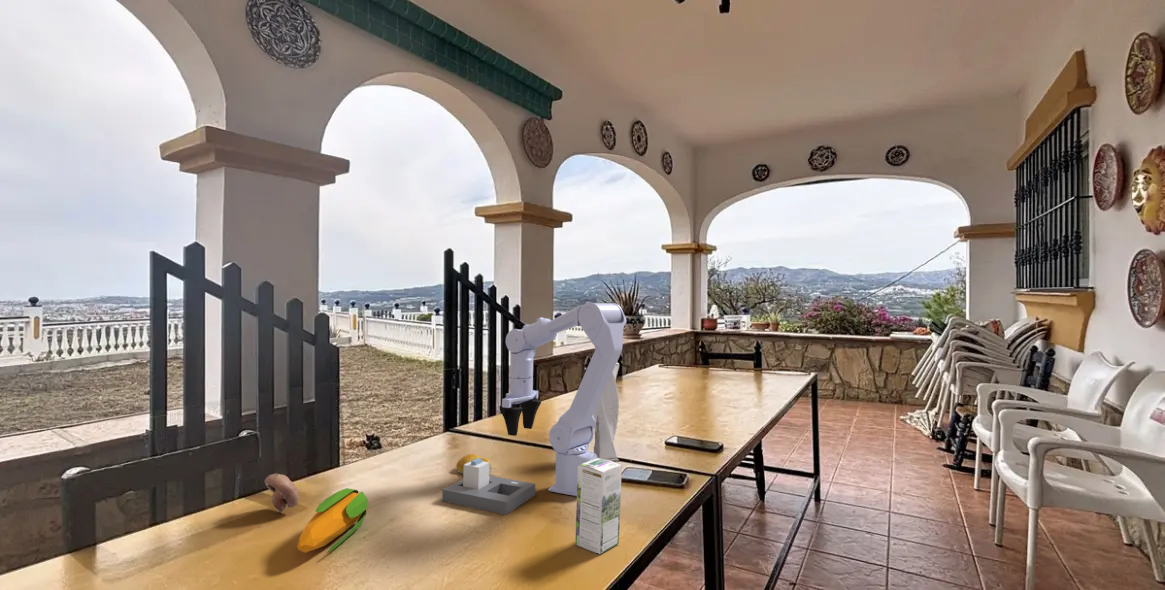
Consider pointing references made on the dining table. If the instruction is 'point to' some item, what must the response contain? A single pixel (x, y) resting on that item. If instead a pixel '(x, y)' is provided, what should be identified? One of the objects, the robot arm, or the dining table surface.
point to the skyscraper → (607, 420)
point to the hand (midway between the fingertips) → (520, 431)
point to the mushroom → (282, 491)
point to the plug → (476, 474)
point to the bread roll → (468, 459)
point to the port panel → (491, 495)
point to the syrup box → (598, 505)
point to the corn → (334, 519)
